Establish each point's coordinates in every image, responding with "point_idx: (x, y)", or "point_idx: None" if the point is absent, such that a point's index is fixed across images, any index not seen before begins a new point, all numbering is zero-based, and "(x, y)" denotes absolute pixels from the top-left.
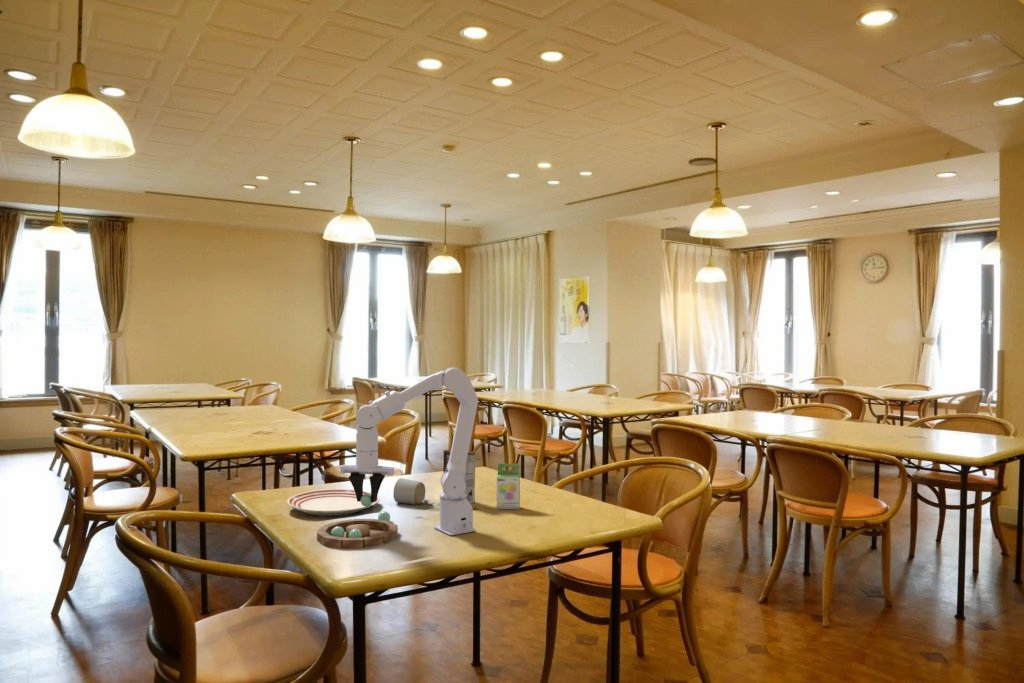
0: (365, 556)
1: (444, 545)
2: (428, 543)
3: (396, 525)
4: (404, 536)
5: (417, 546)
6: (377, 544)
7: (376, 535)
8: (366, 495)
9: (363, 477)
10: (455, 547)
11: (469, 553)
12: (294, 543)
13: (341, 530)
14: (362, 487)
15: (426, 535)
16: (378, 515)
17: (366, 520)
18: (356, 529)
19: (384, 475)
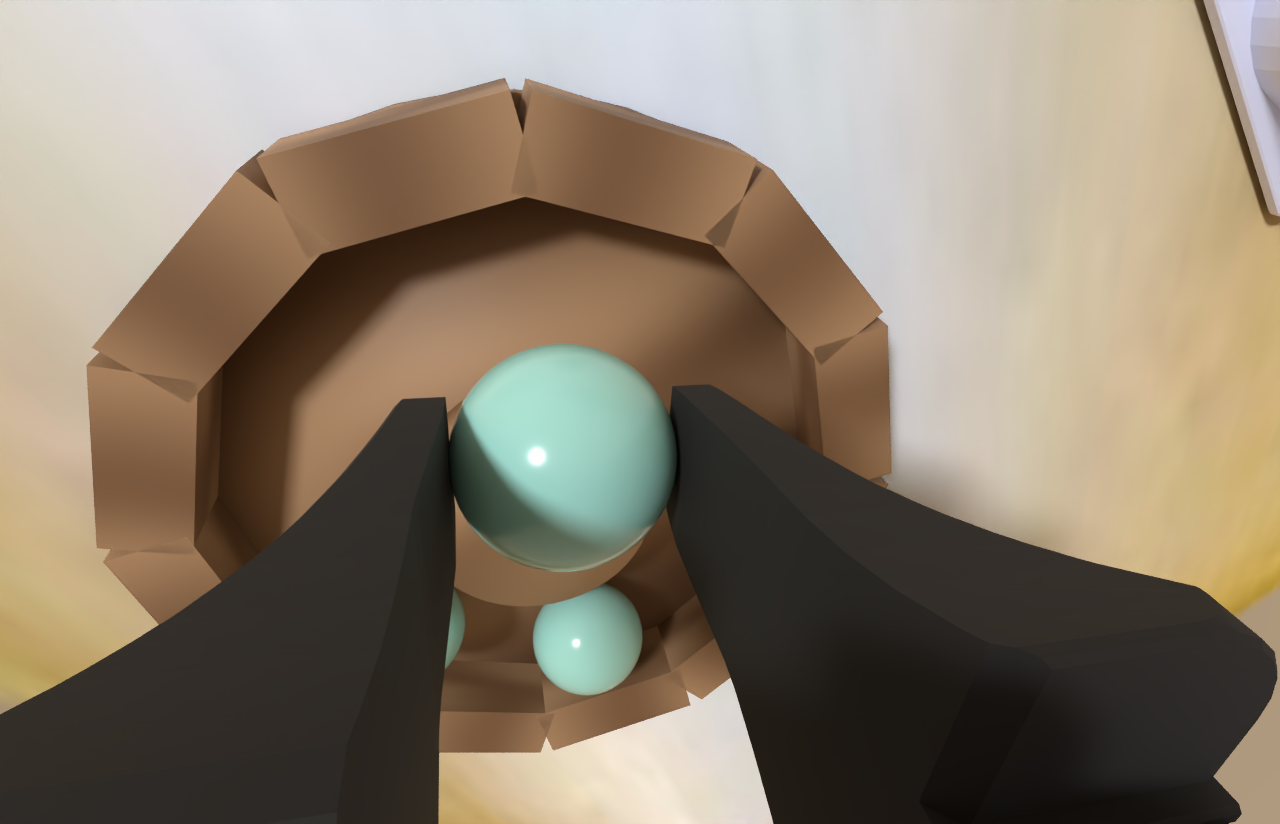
0: (720, 709)
1: (1169, 432)
2: (1075, 420)
3: (874, 315)
4: (902, 299)
5: (1001, 493)
6: None
7: None
8: (594, 565)
9: (380, 688)
10: (1224, 450)
11: (1266, 521)
12: (65, 676)
13: (450, 660)
14: (417, 523)
15: (1083, 230)
16: None
17: (477, 194)
18: (607, 679)
19: (1239, 715)
